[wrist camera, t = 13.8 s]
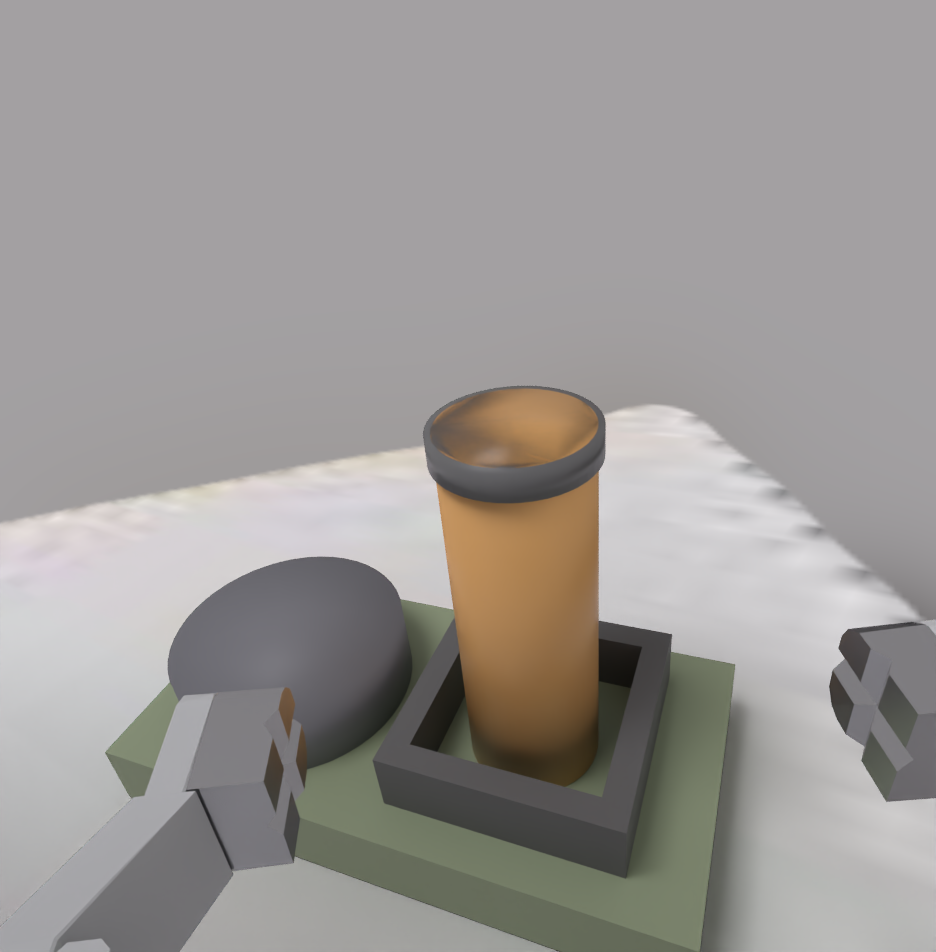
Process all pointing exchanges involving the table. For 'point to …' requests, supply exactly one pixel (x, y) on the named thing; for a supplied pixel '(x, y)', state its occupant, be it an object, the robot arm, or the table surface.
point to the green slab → (466, 761)
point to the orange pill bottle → (524, 571)
